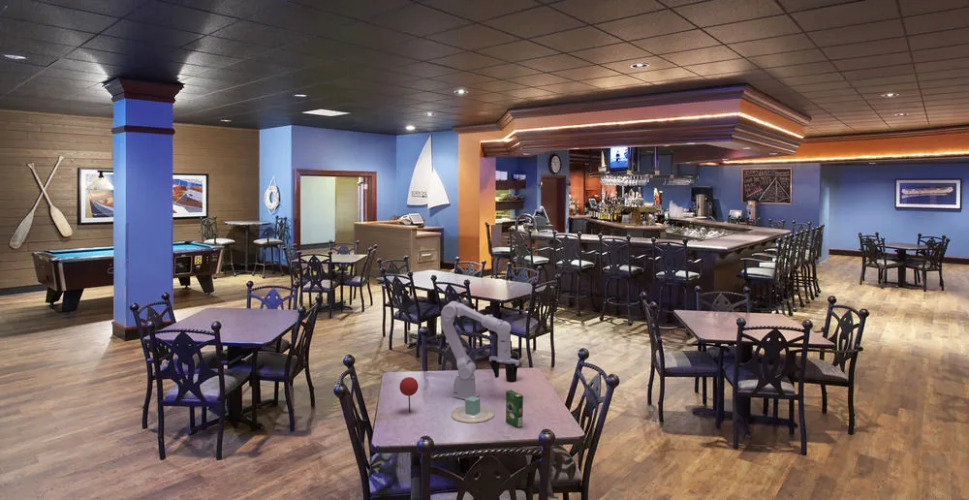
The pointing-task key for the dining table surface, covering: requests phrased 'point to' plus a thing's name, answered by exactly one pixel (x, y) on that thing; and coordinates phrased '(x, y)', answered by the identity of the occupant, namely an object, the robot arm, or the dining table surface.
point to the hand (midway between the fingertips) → (504, 378)
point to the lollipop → (408, 387)
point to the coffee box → (514, 408)
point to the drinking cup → (514, 356)
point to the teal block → (472, 405)
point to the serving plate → (461, 416)
